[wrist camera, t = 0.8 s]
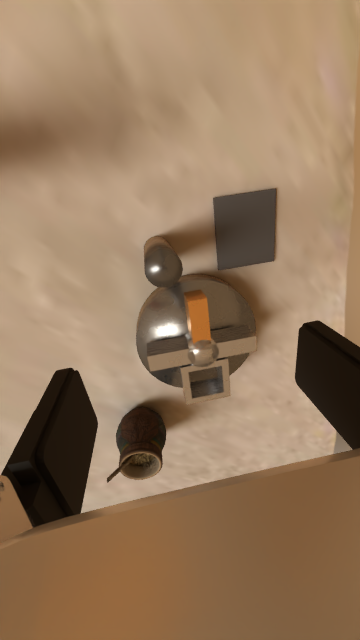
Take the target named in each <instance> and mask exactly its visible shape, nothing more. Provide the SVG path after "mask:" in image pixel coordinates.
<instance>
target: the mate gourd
mask: <svg viewBox="0 0 360 640" xmlns="http://www.w3.org/2000/svg"><path fill="white" fill-rule="evenodd" d="M165 440H166V428H165V425H164V423H163V420H162V418H161V416H160V415H159V414H158V413H157V412H155V411H153V410H151V409H149V408H136V409H133V410H131V411H130V412H129V413H127V414H126V415H125V416H124V417H123V418H122V420H121V423H120V424H119V426H118V430H117V433H116V442H117V446H118V449H119V451H120V462H119V468H117V469H116V470H115V471H114V472H113V473H112V474H111V475H110V476H109V477H108V478H107V482H109V481H110V480H112V478H113V477H114V476H116V474H118V473H119V472H121V473H122V474H123V475H124V476H126V477H127V478H130V479H135V480H141V479H142V480H143V479H147V478H150V477H152V476H154V475H156V474H157V473H158V472H159V471H160V470H161V468H162V449H163V447H164V445H165Z"/></svg>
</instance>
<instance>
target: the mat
mask: <svg viewBox="0 0 360 640" xmlns="http://www.w3.org/2000/svg"><path fill="white" fill-rule="evenodd" d="M213 203H214V217H215V232H216V246H217V261H218V270H224V269H230V268H236V267H242V266H248V265H253V264H259V263H265V262H271V261H274V242H275V206H276V189H270V190H263V191H257V192H250V193H243V194H236V195H230V196H223V197H216V198H213Z"/></svg>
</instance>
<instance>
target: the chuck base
mask: <svg viewBox="0 0 360 640" xmlns="http://www.w3.org/2000/svg"><path fill="white" fill-rule="evenodd" d="M200 289H201V290H202V292H203V293H204V295H205V296H206V297H207V303H208V313H209V324H210V331H215V330H220V329H225V328H231V327H236V326H242V325H247V326H248V327H249V328H250V329H251V330H252V331H253V333H254V334H255V331H256V327H255V319H254V315H253V312H252V310H251V308H250V306H249V304H248V303H247V301H246V300H245V299H244V298H243V297H242V296H241V295H240V294H239V293H238V292H237V291H236V290H234V289H233V288H232V287H231V286H230V285H229V284H227V283H226V282H224V281H222V280H220V279H218V278H216V277H212V276H209V275H203V274H191V275H184V276H181V277H180V279H179V280H178V282H176V283H175V284H174V285H172V286H170V287H166V288H161V287H158V288H157V289H156V290H155V291H154V292H153V293H151V295H150V296H149V297H148V298H147V300H146V301H145V303H144V304H143V306H142V308H141V311H140V313H139V317H138V321H137V333H136V345H137V351H138V354H139V357H140V359H141V361H142V363H143V365H144V366H145V367H146V369H147V370H148V371H149V372H150V368H149V363H148V359H147V343H150V342H156V341H161V340H166V339H172V338H177V337H183V336H185V335H186V334H187V333H188V332H189V331H188V323H187V316H186V308H185V301H184V294H183V292H189V291H195V290H200ZM249 353H250V352H249ZM249 353H244V354H239V355H233V356H228V363H229V376H230V375H231V374H232V373H233V372H235V371H236V370H237V369H238V368H239V367H240V366H241V365H242V364H243V362H244V361H245V360H246V358H247V357H248V355H249ZM150 373H151V374H152V375H153V376H154V377H156V378H157V379H159V380H160V381H162V382H164V383H166V384H169V385H172V386H175V387H181V388H183V386H182V380H181V374H180V368H179V366H177V367H172V368H166V369H161V370H156V371H151V372H150ZM188 374H189V381H190V383H191V382H196V381H201V380H206V379H211V378H216V377H217V368H216V367H213V368H208V369H203V370H197V371H192V372H188Z"/></svg>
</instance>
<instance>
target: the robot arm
mask: <svg viewBox="0 0 360 640" xmlns="http://www.w3.org/2000/svg"><path fill="white" fill-rule="evenodd" d="M295 380H296V383H297V385H298V386H299V387H300V389H301V390H302V391H303V392H304V393H305V394H306V396H307V397H308V398H309V399H310V400H311V401H312V403H313V404H314V405H315V406H316V407H317V408H318V410H319V411H320V412H321V413H322V414H323V415H324V417H325V418H326V419H327V420H328V421H329V422H330V424H331V425H332V426H333V427H334V428H335V429H336V430H337V432H338V433H339V434H340V435H341V436H342V437H343V439H344V440H345V441H346V442H347V443H348V444H349V446H350V447H351V448H352V449H353V450H350V451H346V452H341V453H337V454H332V455H328V456H323V457H319V458H314V459H310V460H305V461H301V462H296V463H292V464H287V465H283V466H279V467H274V468H270V469H266V470H261V471H257V472H253V473H248V474H244V475H239V476H235V477H231V478H227V479H222V480H218V481H214V482H209V483H205V484H201V485H196V486H192V487H188V488H184V489H179V490H175V491H171V492H167V493H162V494H158V495H154V496H150V497H145V498H141V499H137V500H133V501H128V502H124V503H120V504H116V505H112V506H108V507H104V508H100V509H97V510H93V511H89V512H85V513H81V508H82V503H83V498H84V493H85V488H86V483H87V478H88V473H89V468H90V463H91V458H92V453H93V448H94V443H95V438H96V433H97V427H98V421H97V417H96V415H95V412H94V410H93V407H92V404H91V402H90V399H89V397H88V394H87V392H86V389H85V386H84V384H83V381H82V379H81V376H80V374H79V372H78V371H77V370H76V371H74V370H73V368H67V369H62V370H57V371H56V372H55V373H54V375H53V377H52V379H51V381H50V383H49V385H48V387H47V389H46V391H45V393H44V394H43V396H42V398H41V400H40V402H39V404H38V406H37V408H36V410H35V411H34V412H33V414H32V416H31V418H30V420H29V422H28V424H27V426H26V428H25V430H24V432H23V433H22V435H21V437H20V439H19V441H18V443H17V445H16V447H15V449H14V451H13V453H12V455H11V457H10V458H9V460H8V462H7V464H6V466H5V468H4V470H3V472H2V474H1V475H0V640H360V347H359V346H357V345H355V344H354V343H352V342H351V341H349V340H348V339H346V338H345V337H343V336H342V335H340V334H339V333H337V332H336V331H334V330H333V329H331V328H330V327H328V326H327V325H325V324H324V323H322V322H321V321H313V322H307V323H304V324H303V326H302V327H301V328H300V329H299V336H298V348H297V360H296V372H295ZM80 513H81V514H80Z"/></svg>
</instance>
